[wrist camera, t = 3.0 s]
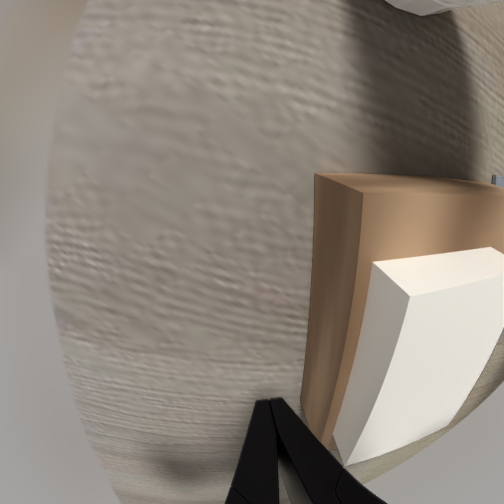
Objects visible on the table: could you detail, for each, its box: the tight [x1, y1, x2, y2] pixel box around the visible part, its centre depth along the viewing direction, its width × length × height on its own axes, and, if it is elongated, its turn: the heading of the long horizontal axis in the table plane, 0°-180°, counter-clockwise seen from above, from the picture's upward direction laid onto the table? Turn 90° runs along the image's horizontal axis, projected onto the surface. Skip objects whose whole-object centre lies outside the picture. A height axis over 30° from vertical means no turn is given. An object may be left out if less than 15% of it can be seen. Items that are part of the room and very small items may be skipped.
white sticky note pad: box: [333, 247, 504, 466], centre depth 9 cm, size 6×9×2 cm, turn 3°
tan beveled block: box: [300, 173, 504, 451], centre depth 12 cm, size 11×13×4 cm
